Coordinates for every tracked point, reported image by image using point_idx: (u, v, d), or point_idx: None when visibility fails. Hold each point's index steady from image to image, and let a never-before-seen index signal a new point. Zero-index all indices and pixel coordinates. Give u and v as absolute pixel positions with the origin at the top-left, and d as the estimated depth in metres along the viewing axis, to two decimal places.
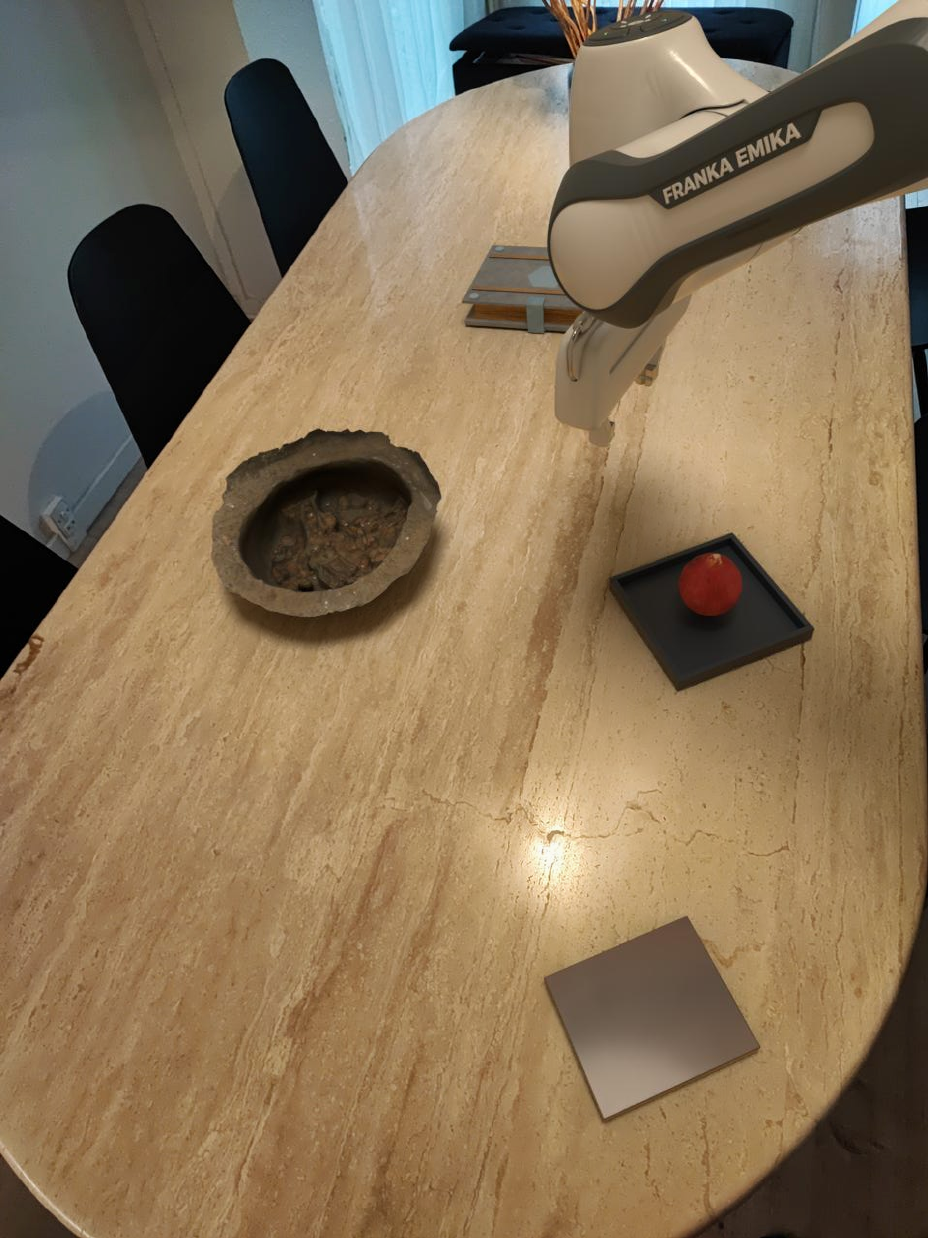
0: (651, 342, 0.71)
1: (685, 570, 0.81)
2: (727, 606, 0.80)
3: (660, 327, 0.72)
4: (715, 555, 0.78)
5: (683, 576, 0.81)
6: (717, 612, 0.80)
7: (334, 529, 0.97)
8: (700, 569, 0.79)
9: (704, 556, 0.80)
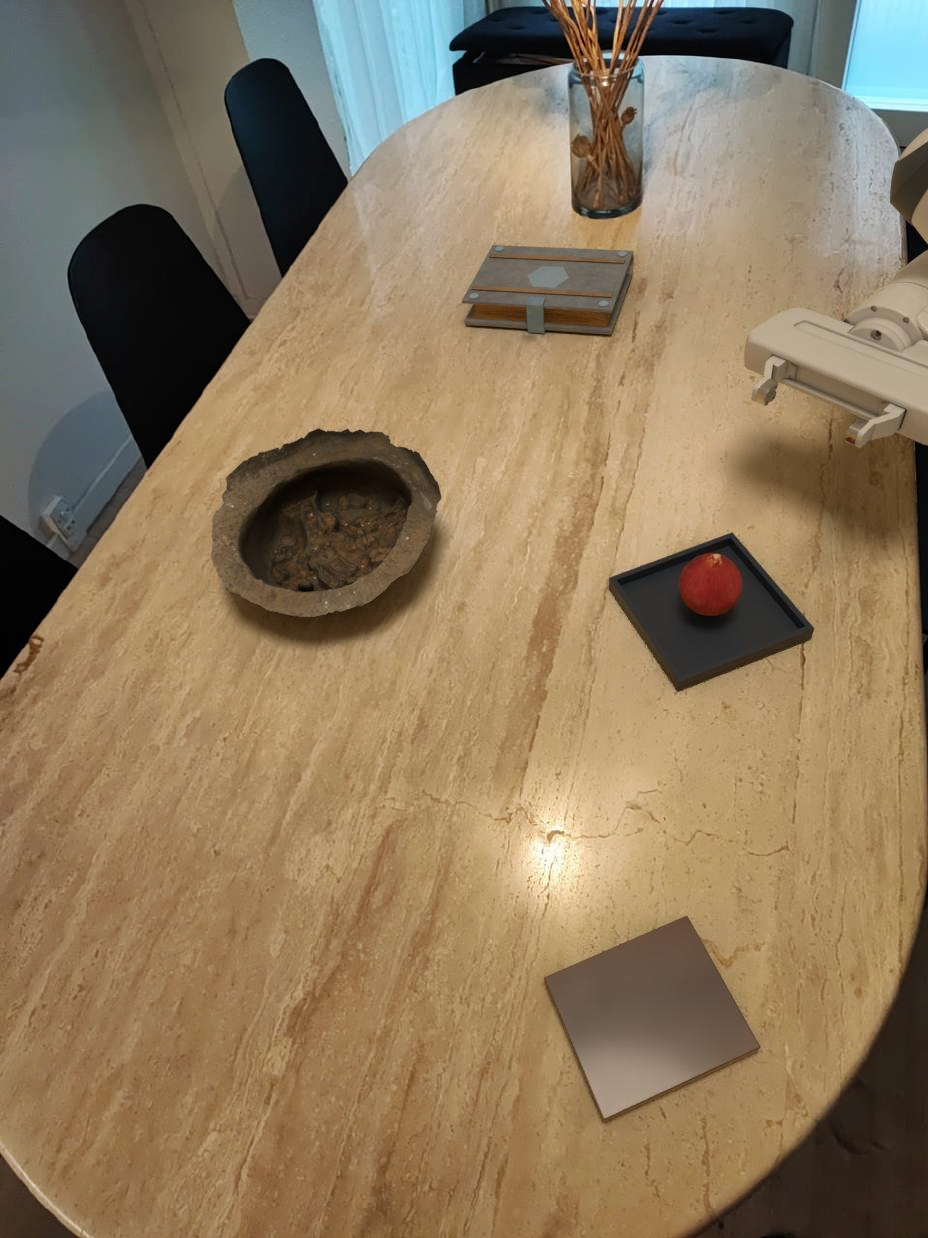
0: (860, 366, 0.76)
1: (685, 570, 0.81)
2: (727, 606, 0.80)
3: (881, 372, 0.75)
4: (715, 555, 0.78)
5: (683, 576, 0.81)
6: (717, 612, 0.80)
7: (334, 529, 0.97)
8: (700, 569, 0.79)
9: (704, 556, 0.80)
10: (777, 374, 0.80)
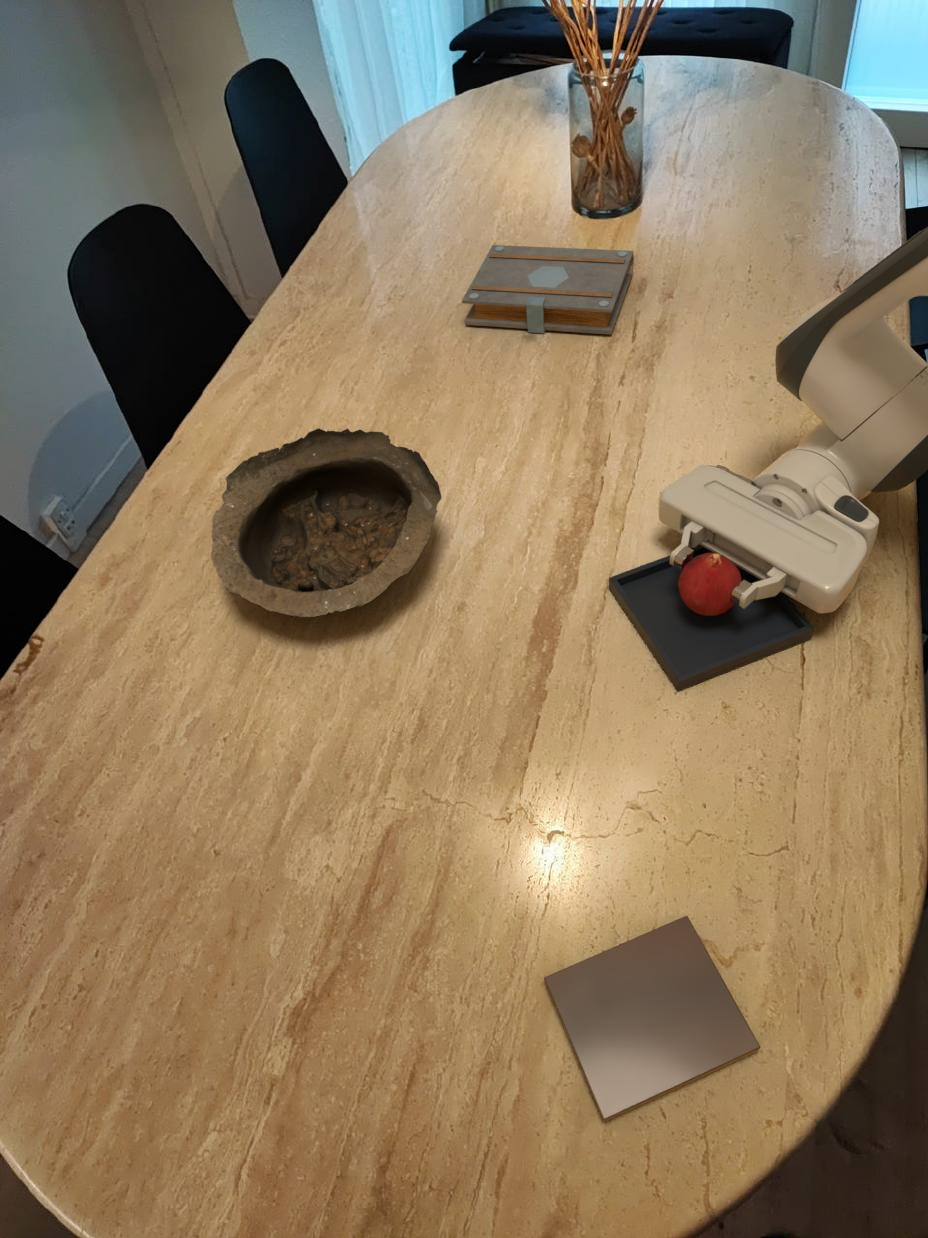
0: (760, 534, 0.80)
1: (685, 570, 0.81)
2: (727, 606, 0.80)
3: (779, 541, 0.80)
4: (715, 555, 0.78)
5: (683, 576, 0.81)
6: (717, 612, 0.80)
7: (334, 529, 0.97)
8: (700, 569, 0.79)
9: (704, 556, 0.80)
10: (695, 539, 0.83)
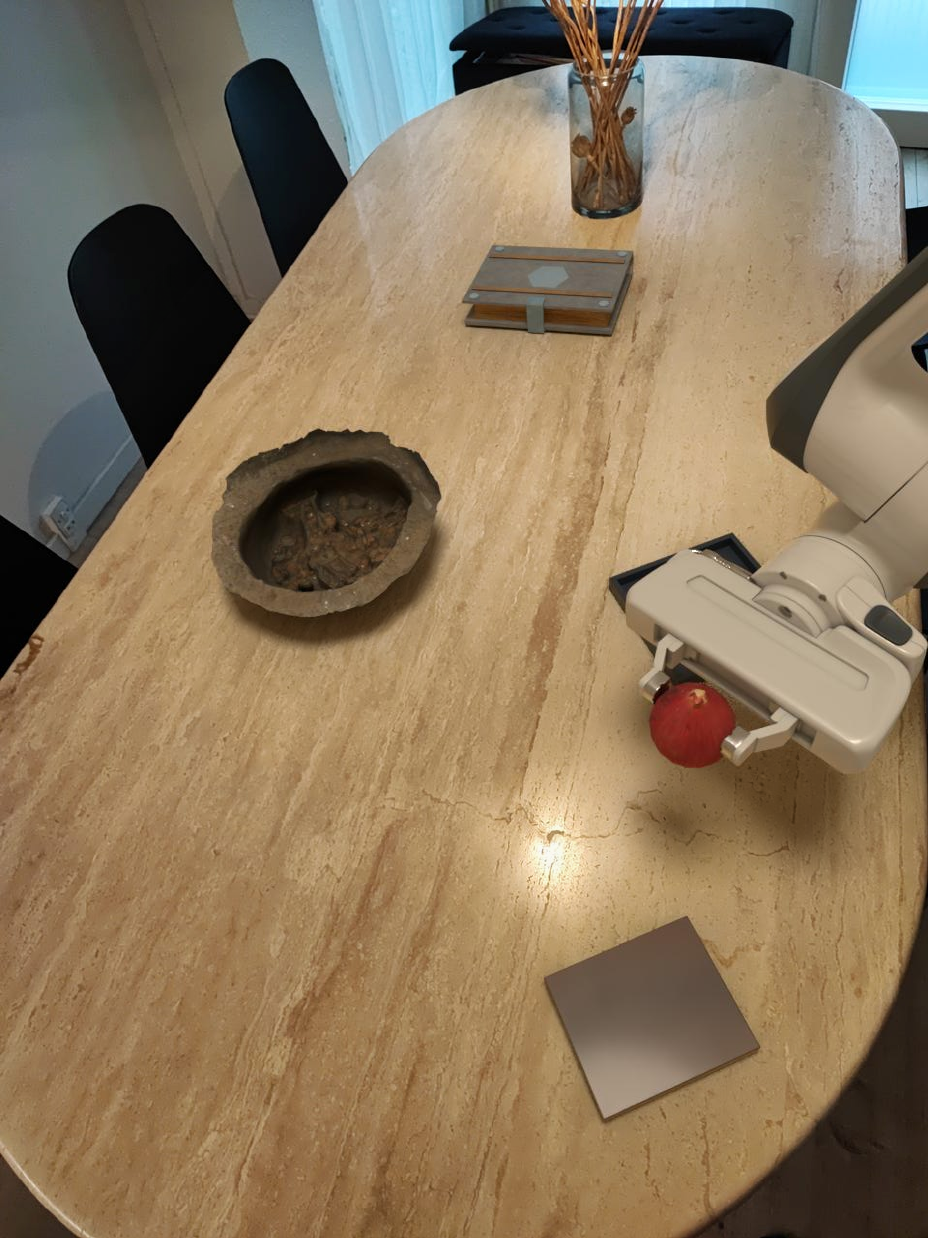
0: (761, 657, 0.58)
1: (658, 706, 0.59)
2: (715, 759, 0.58)
3: (788, 669, 0.58)
4: (697, 692, 0.56)
5: (655, 715, 0.59)
6: (701, 766, 0.58)
7: (334, 529, 0.97)
8: (677, 709, 0.57)
9: (683, 690, 0.57)
10: (673, 659, 0.61)
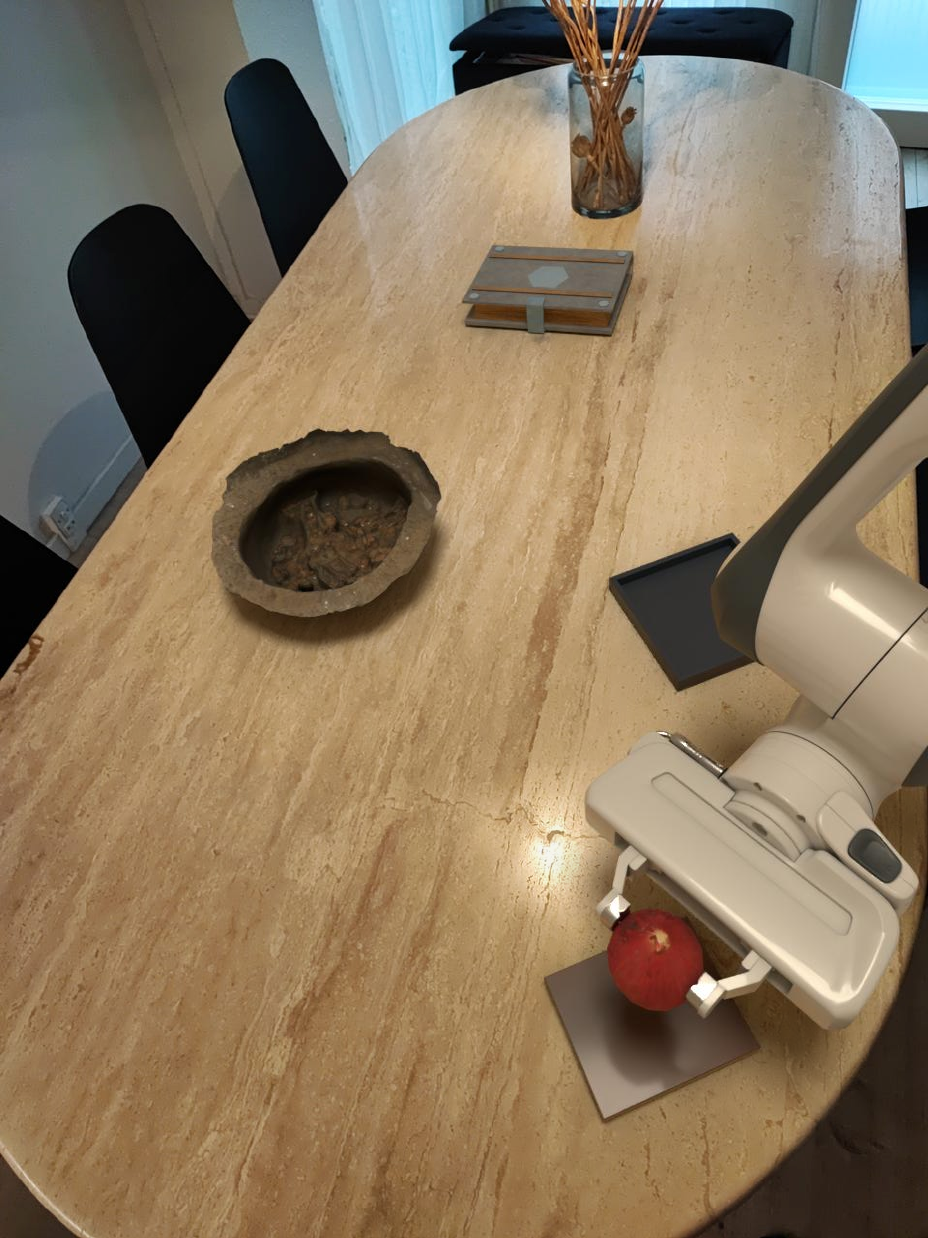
0: (733, 886, 0.52)
1: (616, 940, 0.52)
2: (680, 1004, 0.51)
3: (762, 903, 0.51)
4: (659, 937, 0.49)
5: (613, 949, 0.52)
6: (664, 1010, 0.51)
7: (334, 529, 0.97)
8: (637, 952, 0.50)
9: (643, 927, 0.51)
10: (635, 875, 0.55)
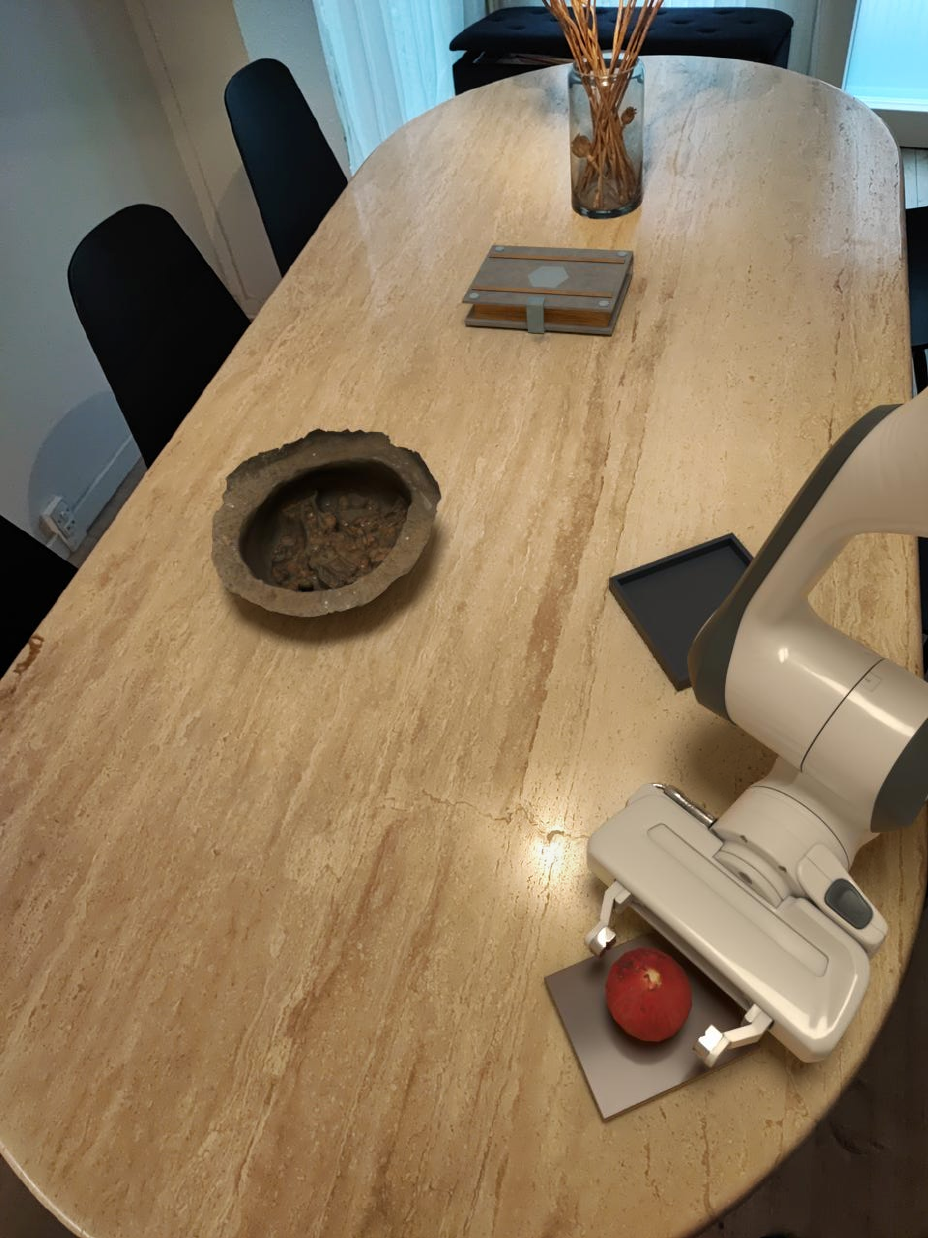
0: (721, 931, 0.57)
1: (613, 977, 0.58)
2: (671, 1035, 0.57)
3: (747, 946, 0.56)
4: (652, 976, 0.55)
5: (610, 986, 0.58)
6: None
7: (334, 529, 0.97)
8: (632, 989, 0.56)
9: (638, 966, 0.57)
10: (620, 908, 0.61)
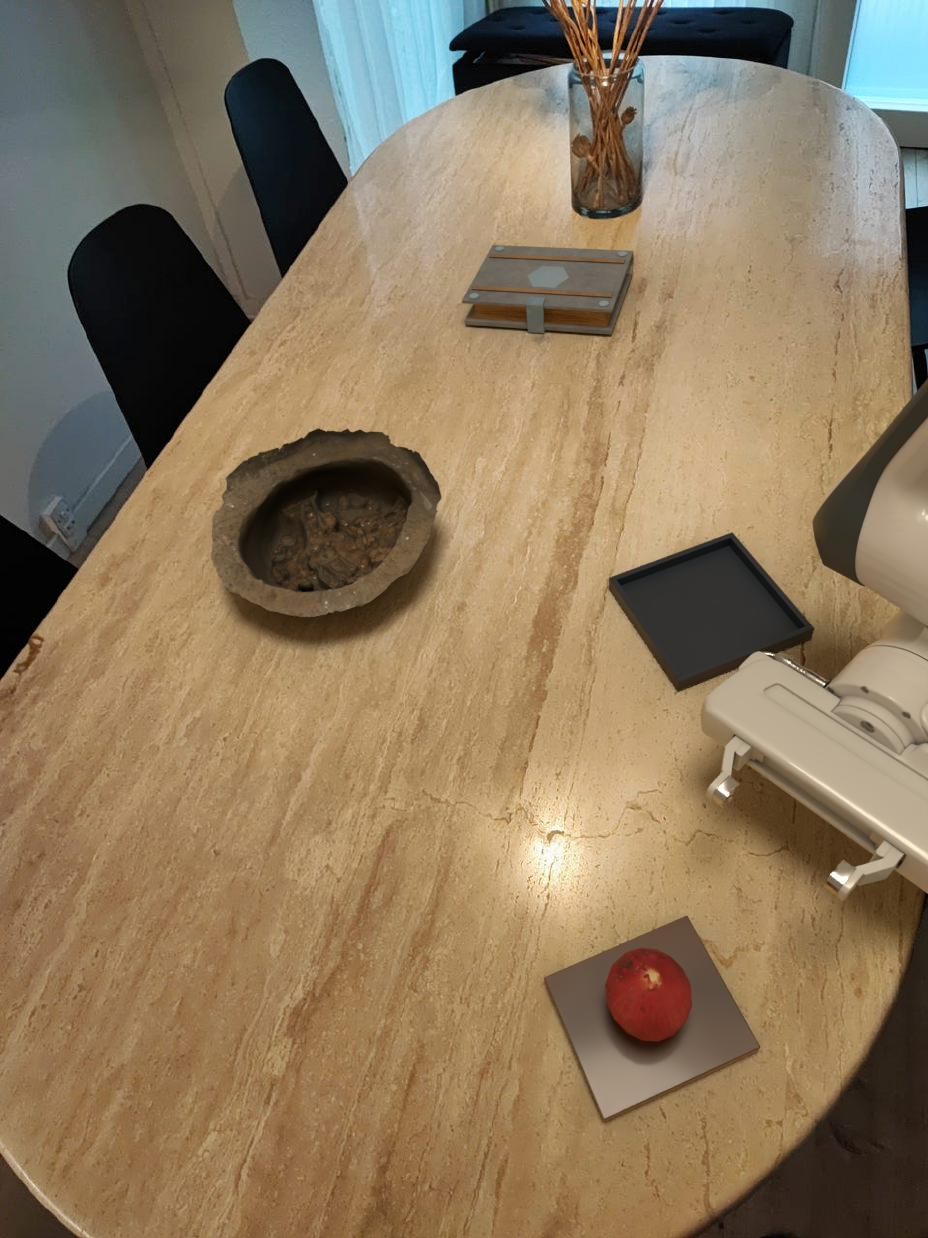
0: (846, 775, 0.58)
1: (613, 977, 0.58)
2: (671, 1035, 0.57)
3: (874, 788, 0.58)
4: (652, 976, 0.55)
5: (610, 986, 0.58)
6: None
7: (334, 529, 0.97)
8: (632, 989, 0.56)
9: (638, 966, 0.57)
10: (740, 762, 0.62)
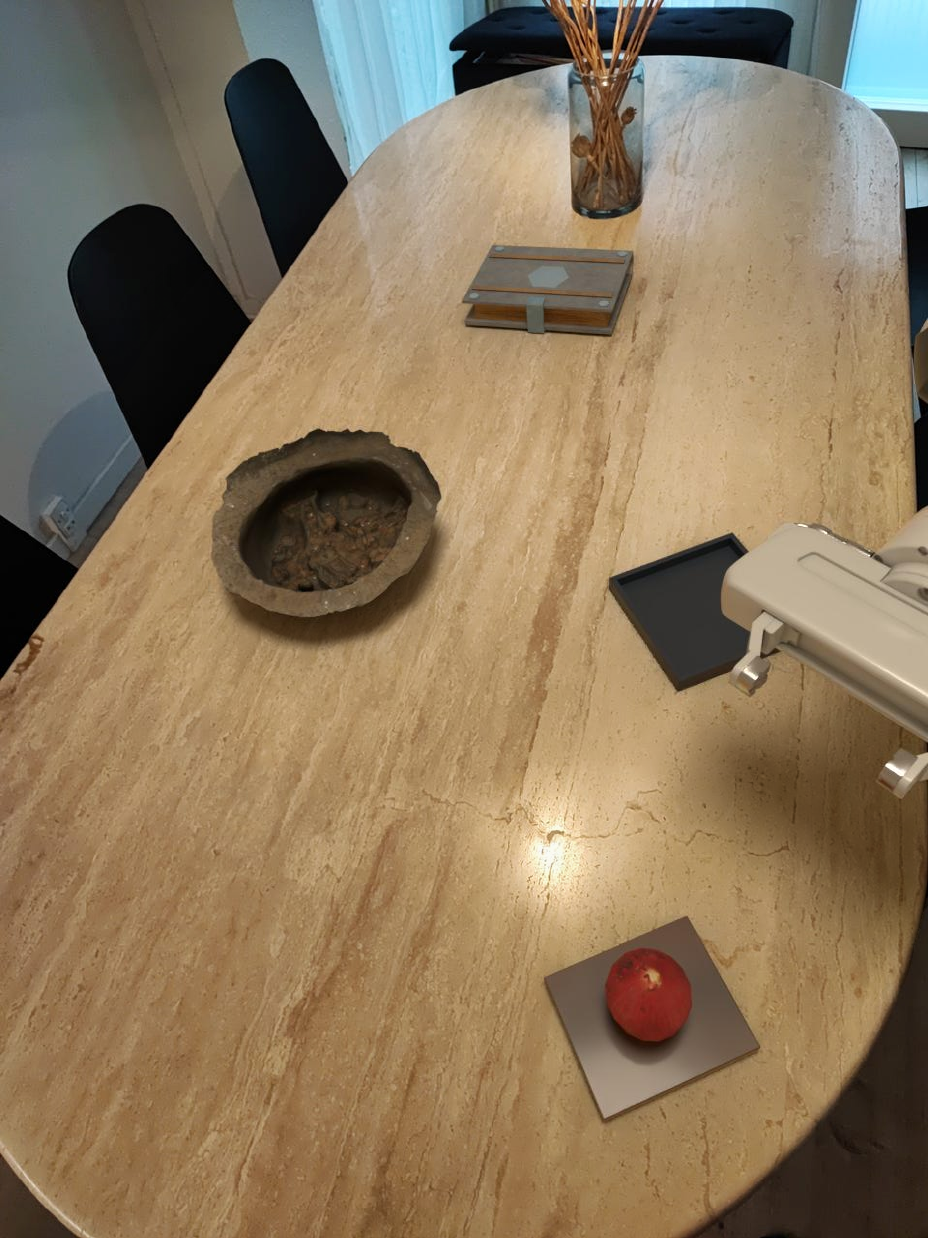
0: (902, 651, 0.48)
1: (613, 977, 0.58)
2: (671, 1035, 0.57)
3: None
4: (652, 976, 0.55)
5: (610, 986, 0.58)
6: None
7: (334, 529, 0.97)
8: (632, 989, 0.56)
9: (638, 966, 0.57)
10: (770, 642, 0.51)
